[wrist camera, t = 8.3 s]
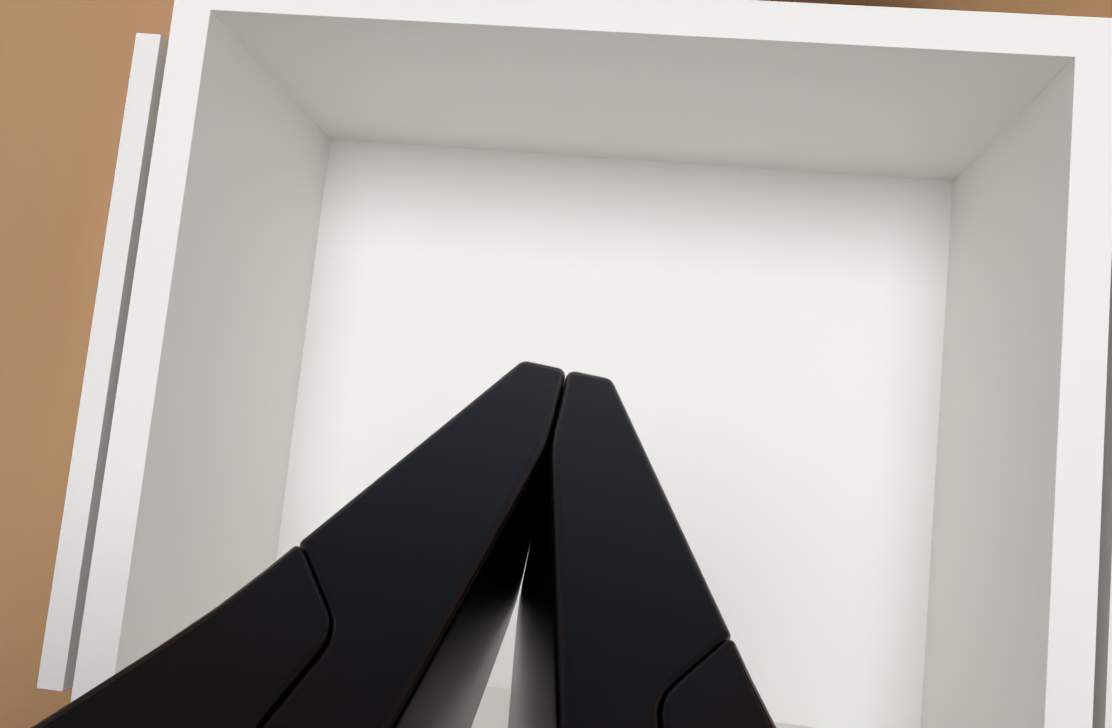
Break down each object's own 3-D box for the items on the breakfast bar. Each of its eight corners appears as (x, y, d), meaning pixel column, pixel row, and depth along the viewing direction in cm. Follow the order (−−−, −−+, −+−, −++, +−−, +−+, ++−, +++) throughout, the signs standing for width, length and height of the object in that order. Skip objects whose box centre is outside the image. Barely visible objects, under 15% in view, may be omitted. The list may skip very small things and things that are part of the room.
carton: (972, 805, 19) (1132, 964, 13) (210, 706, 21) (15, 804, 14) (1006, 165, 21) (1166, 21, 14) (289, 118, 22) (143, -31, 16)
